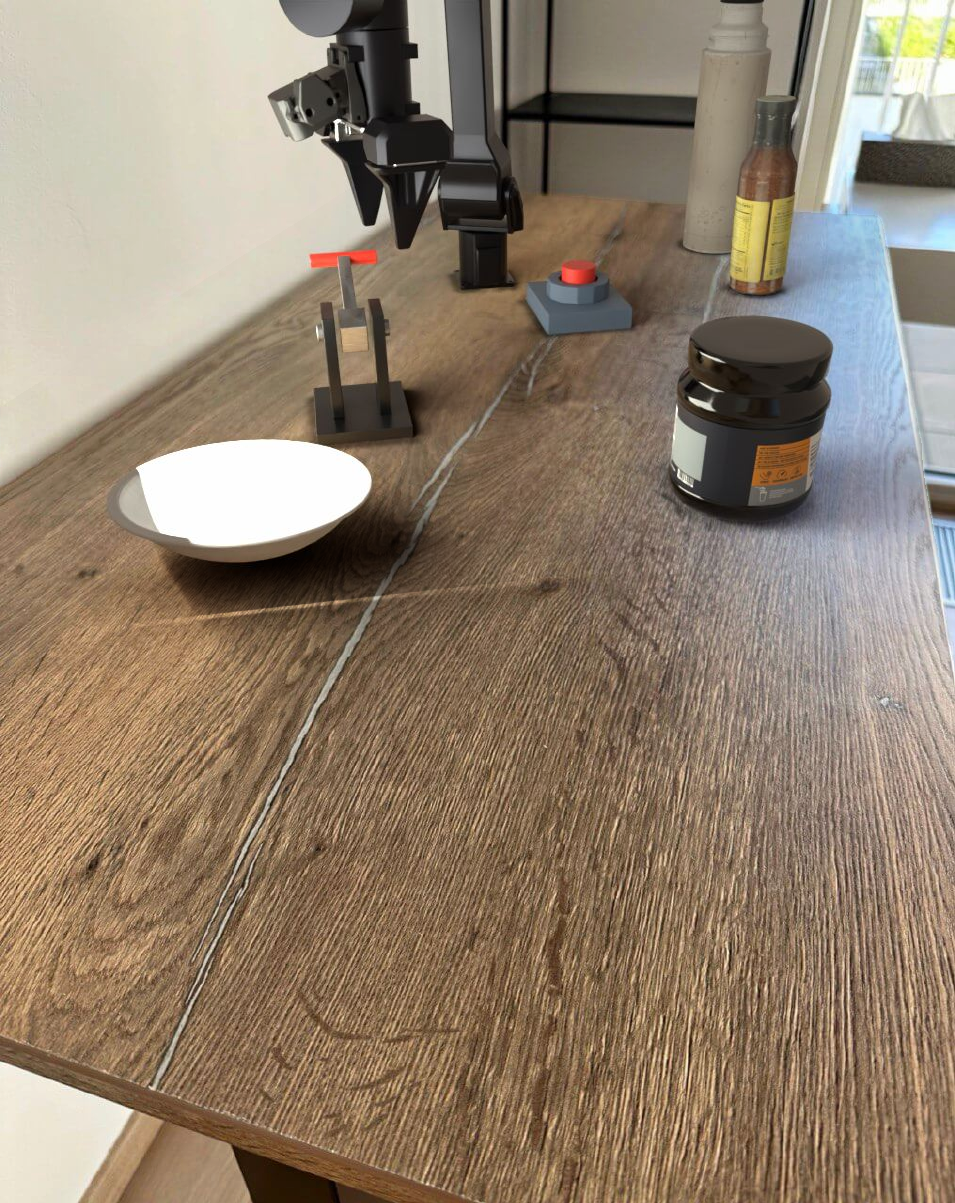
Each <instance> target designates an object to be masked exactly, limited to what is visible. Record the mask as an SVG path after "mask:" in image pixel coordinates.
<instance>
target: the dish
mask: <svg viewBox="0 0 955 1203" xmlns="http://www.w3.org/2000/svg"><path fill="white" fill-rule="evenodd" d="M372 490H373V478H372V475H371V473H370V471H369V469H368V468H367V467H366V465H365V464H363V462H361V461H360V460H359V459H357V458H356V457H354V456H352V455H350V454H349V453H346V452H344V451H341V450H339V449H336V448H332V447H329V446H327V445H322V446H321V445H318V444H317V443H312V442H311V443H310V442H305V441H296V440H286V439H285V440H284V439H245V440H234V441H224V442H217V443H211V444H205V445H199V446H194V447H191V448H186V449H182V450H179V451H175V452H172V453H168V454H165V455H163V456H160V457H157V458H155V459H152V460H150V461H148V462H145V463H143V464H141V465H139V466H137V467H135V468H134V469H132V470H130V471H129V472H127V473H126V474H124V475H123V476H122V477H121V478H120V479H119V480H117V481H116V482H115V483H114V484H113V486H112V487H111V488H110V490H109V492H108V494H107V497H106V504H105V505H106V510H107V513H108V515H109V517H110V518H111V519H112V521H113V522H114V523H115V524H116V525H117V526H118V527H120V528H121V529H123V530H124V531H126V532H128V533H129V534H131V535H134V536H136V537H139V538H141V539H144V540H148V541H150V542H152V543H154V544H156V545H158V546H160V547H162V548H164V549H166V550H168V551H171V552H174V553H177V554H180V555H181V556H185V557H189V558H194V559H198V560H203V561H209V562H217V563H248V562H249V563H251V562H258V561H265V560H270V559H274V558H275V559H276V558H279V557H282V556H285V555H288V554H291V553H295V552H297V551H300V550H302V549H304V548H305V547H308V546H309V545H311V544H314V543H315V542H317V541H318V540H320V539H321V538H323V537H324V536H326V535H327V534H329V533H330V532H331V531H333V529H335V528H336V527H337V526H338V525H339V524H341V523H342V521H343V520H345V519H346V518H348V517H349V516H351V515H352V514H354V513H355V512H356V511H357V510H359V509H360V508H361V507H362V506H363V505H364V503H365V502H366V501H367V500H368V498H369V496H370V495H371V492H372Z"/></svg>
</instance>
